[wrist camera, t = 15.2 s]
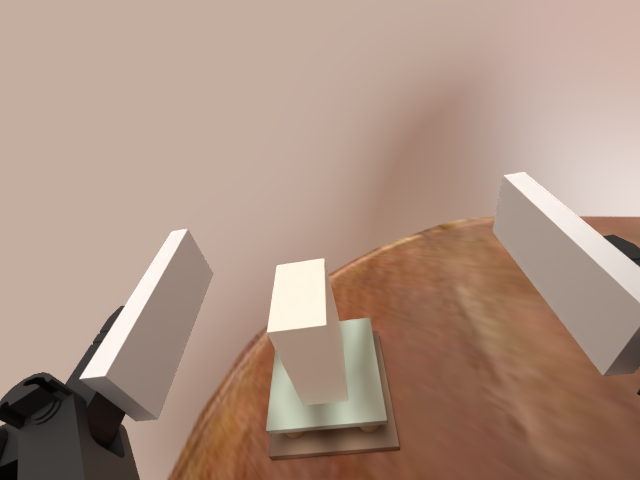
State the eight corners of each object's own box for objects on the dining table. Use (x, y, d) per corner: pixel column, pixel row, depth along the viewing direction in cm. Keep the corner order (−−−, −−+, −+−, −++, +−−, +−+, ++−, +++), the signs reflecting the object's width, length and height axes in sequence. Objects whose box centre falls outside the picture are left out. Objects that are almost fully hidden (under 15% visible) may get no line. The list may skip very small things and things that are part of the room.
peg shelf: (378, 335, 49) (375, 311, 46) (399, 449, 37) (398, 429, 33) (282, 346, 51) (272, 324, 47) (271, 459, 39) (256, 441, 35)
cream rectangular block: (342, 336, 43) (324, 258, 34) (348, 401, 36) (326, 325, 27) (305, 340, 44) (276, 265, 35) (303, 405, 37) (266, 332, 28)
